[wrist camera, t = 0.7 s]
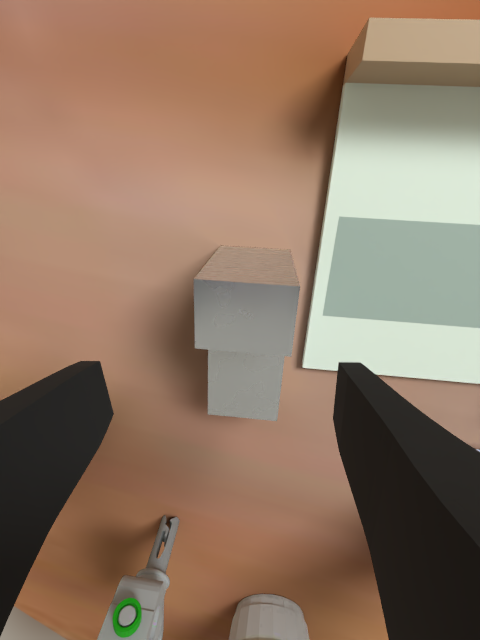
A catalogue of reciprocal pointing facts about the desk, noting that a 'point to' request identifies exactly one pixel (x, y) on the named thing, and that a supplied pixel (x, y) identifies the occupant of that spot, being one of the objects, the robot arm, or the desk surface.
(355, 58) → the corner arena
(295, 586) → the desk surface
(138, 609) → the mechanical component
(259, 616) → the coffee cup
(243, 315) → the bracket
